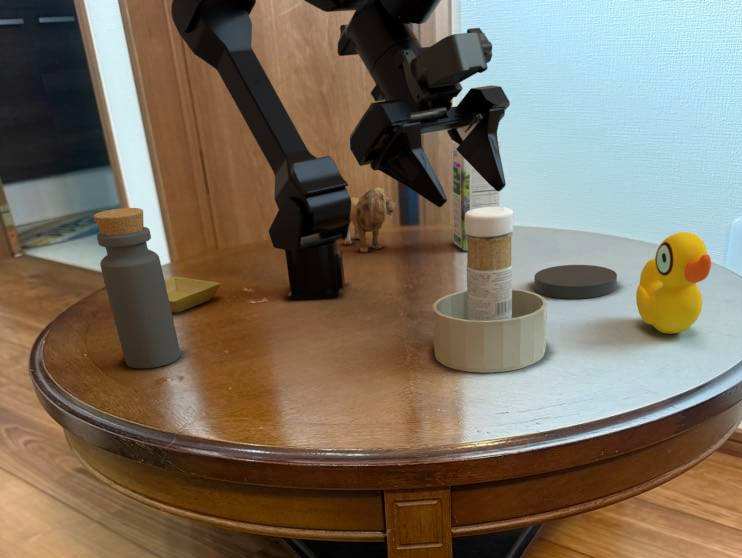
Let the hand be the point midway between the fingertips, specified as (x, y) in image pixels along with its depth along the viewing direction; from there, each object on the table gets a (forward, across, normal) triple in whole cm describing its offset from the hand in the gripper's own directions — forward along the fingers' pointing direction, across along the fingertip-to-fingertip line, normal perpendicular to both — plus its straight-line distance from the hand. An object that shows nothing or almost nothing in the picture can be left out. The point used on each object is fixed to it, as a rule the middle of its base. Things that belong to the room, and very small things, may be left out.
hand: (473, 196), depth 81 cm
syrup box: (-5, +30, +28) cm, 42 cm away
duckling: (+22, +11, -4) cm, 25 cm away
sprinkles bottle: (+14, -5, +4) cm, 16 cm away
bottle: (-4, -27, +26) cm, 38 cm away
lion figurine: (-15, +22, +40) cm, 48 cm away
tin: (+14, -5, +4) cm, 16 cm away
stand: (+10, +19, +9) cm, 24 cm away
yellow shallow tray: (-14, -14, +39) cm, 44 cm away
